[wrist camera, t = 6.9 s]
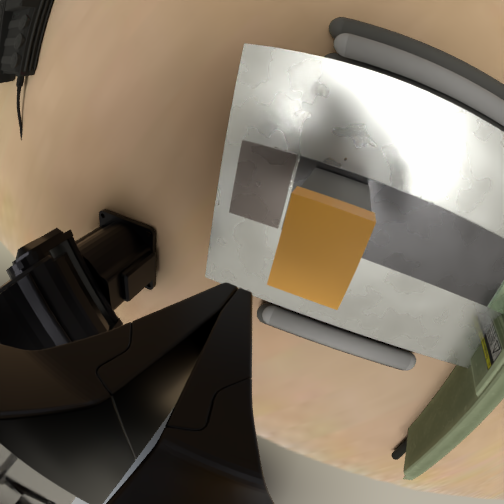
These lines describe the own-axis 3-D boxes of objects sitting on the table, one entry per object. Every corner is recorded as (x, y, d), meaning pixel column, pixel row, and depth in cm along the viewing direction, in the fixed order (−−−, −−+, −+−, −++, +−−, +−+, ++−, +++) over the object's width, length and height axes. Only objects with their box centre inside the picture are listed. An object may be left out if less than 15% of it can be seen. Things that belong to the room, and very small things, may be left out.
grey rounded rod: (258, 311, 24) (247, 333, 22) (269, 272, 22) (257, 293, 20) (406, 362, 22) (407, 387, 19) (431, 329, 20) (435, 354, 17)
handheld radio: (518, 296, 16) (408, 448, 28) (489, 289, 17) (386, 446, 29) (545, 353, 10) (402, 492, 22) (514, 349, 11) (377, 490, 24)
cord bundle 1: (320, 76, 15) (313, 71, 13) (333, 18, 13) (328, 4, 10) (516, 161, 12) (536, 171, 10) (530, 107, 10) (552, 109, 8)
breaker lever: (294, 233, 17) (266, 284, 13) (314, 165, 15) (291, 192, 11) (346, 251, 17) (337, 310, 12) (371, 184, 14) (375, 222, 10)
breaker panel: (216, 264, 24) (203, 278, 22) (256, 49, 15) (242, 42, 13) (477, 355, 19) (482, 374, 17) (572, 188, 10) (588, 199, 9)
